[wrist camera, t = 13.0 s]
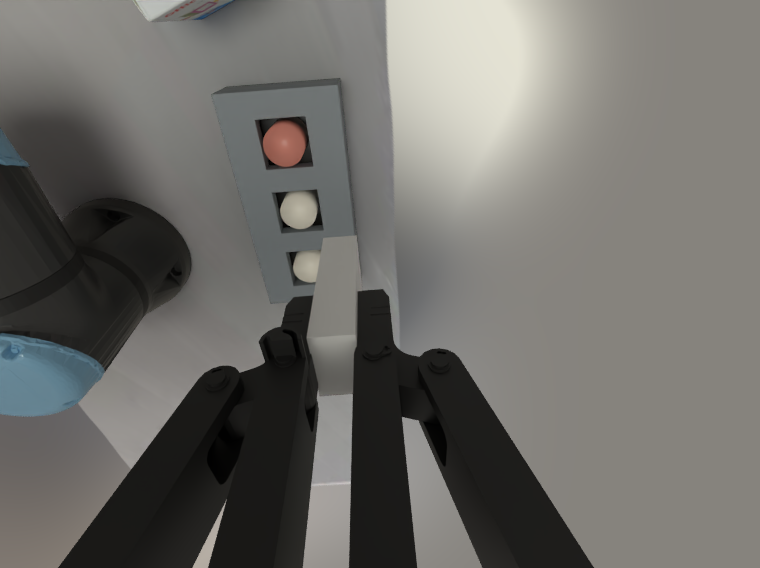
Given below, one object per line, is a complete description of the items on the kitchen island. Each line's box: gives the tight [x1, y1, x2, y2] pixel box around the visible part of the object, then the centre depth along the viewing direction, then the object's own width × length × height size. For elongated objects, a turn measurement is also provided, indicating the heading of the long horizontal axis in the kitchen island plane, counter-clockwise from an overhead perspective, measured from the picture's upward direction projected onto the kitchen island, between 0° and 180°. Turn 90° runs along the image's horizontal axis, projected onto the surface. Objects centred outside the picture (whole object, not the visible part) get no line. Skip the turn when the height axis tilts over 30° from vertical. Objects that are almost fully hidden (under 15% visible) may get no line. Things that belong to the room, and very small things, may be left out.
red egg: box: [263, 117, 309, 167], centre depth 40 cm, size 4×4×5 cm
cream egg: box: [280, 189, 319, 229], centre depth 45 cm, size 4×4×5 cm
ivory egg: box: [293, 250, 321, 282], centre depth 49 cm, size 4×4×5 cm
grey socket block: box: [211, 78, 361, 304], centre depth 45 cm, size 25×12×5 cm, turn 4°
